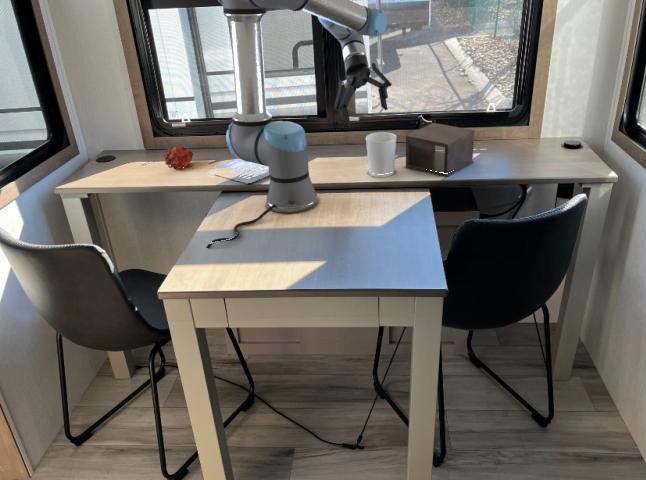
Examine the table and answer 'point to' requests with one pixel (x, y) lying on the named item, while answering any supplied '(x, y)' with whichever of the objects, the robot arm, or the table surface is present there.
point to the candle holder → (381, 153)
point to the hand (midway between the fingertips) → (365, 117)
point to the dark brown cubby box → (426, 157)
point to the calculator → (244, 168)
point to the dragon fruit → (178, 157)
